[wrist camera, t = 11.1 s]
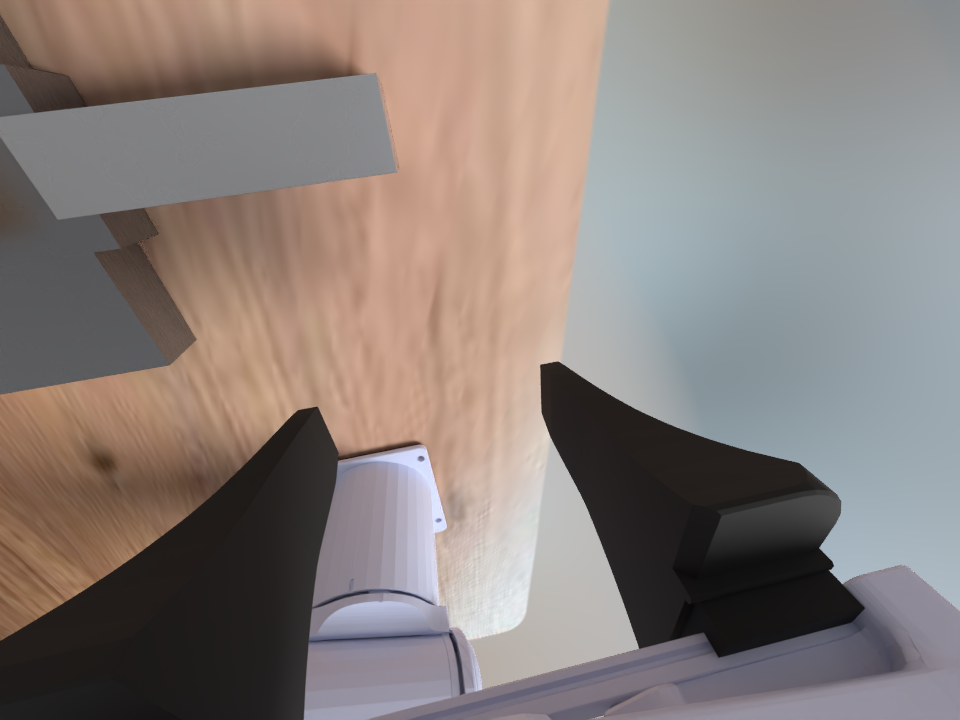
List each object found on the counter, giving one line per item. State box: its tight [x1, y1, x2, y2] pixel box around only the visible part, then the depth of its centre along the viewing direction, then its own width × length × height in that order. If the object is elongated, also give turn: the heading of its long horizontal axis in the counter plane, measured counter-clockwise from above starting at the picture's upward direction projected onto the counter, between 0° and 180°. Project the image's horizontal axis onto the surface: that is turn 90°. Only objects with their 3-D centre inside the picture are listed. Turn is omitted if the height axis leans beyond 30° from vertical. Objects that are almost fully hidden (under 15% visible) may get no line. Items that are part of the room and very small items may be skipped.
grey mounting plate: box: [0, 16, 399, 394], centre depth 13 cm, size 16×27×3 cm, turn 96°
